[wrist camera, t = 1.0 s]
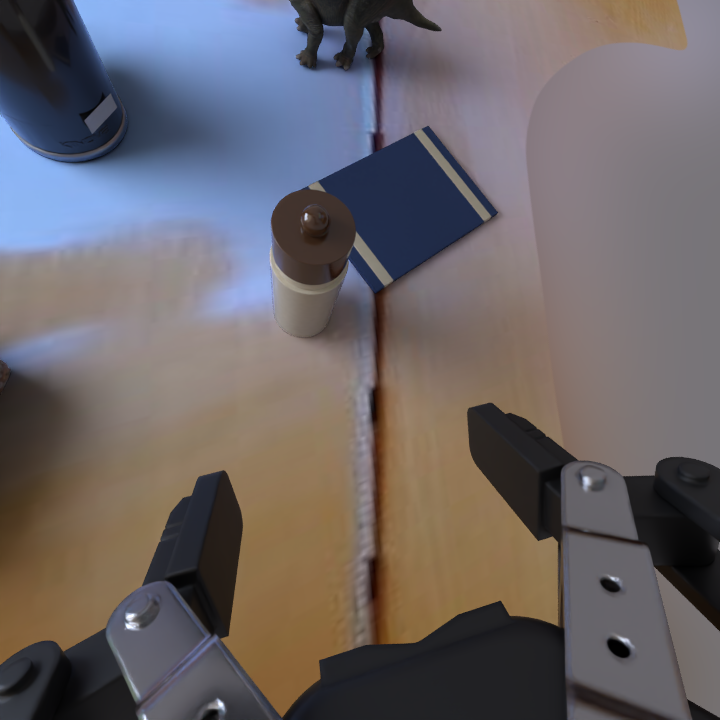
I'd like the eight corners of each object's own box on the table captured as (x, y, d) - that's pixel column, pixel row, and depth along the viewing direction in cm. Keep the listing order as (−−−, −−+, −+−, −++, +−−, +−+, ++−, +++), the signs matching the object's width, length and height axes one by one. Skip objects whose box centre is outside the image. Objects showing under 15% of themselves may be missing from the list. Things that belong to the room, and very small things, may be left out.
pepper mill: (261, 302, 34) (246, 194, 20) (309, 273, 36) (327, 155, 21) (295, 348, 34) (305, 273, 19) (342, 317, 35) (383, 227, 21)
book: (298, 193, 38) (299, 190, 37) (426, 129, 43) (428, 125, 43) (375, 293, 37) (376, 291, 36) (495, 215, 42) (498, 212, 42)
